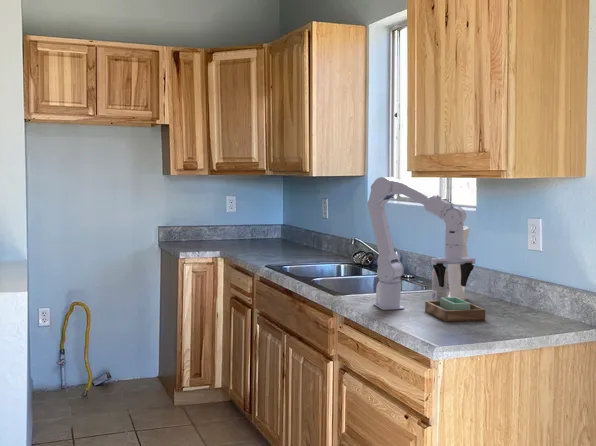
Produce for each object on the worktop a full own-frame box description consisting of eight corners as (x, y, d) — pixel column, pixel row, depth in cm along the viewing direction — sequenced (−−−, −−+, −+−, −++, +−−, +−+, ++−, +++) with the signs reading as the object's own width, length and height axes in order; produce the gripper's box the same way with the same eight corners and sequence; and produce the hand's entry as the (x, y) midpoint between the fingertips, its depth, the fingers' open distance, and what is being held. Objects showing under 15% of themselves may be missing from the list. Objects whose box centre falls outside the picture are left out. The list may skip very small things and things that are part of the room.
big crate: (425, 311, 227) (425, 301, 227) (462, 310, 230) (462, 299, 230) (445, 322, 212) (445, 311, 212) (484, 320, 215) (485, 309, 215)
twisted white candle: (447, 300, 247) (450, 222, 244) (443, 296, 254) (445, 220, 252) (469, 300, 247) (472, 222, 244) (464, 296, 254) (467, 221, 252)
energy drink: (444, 301, 244) (445, 268, 243) (448, 304, 239) (449, 270, 238) (429, 301, 244) (430, 268, 243) (433, 304, 239) (434, 270, 237)
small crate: (440, 311, 225) (440, 297, 225) (455, 310, 226) (455, 297, 226) (453, 317, 215) (454, 303, 215) (469, 317, 217) (470, 303, 216)
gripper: (438, 246, 215) (436, 289, 216) (480, 245, 218) (478, 288, 220) (429, 243, 222) (427, 285, 223) (470, 243, 225) (468, 284, 226)
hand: (452, 286), depth 222 cm, fingers open, 7 cm apart
